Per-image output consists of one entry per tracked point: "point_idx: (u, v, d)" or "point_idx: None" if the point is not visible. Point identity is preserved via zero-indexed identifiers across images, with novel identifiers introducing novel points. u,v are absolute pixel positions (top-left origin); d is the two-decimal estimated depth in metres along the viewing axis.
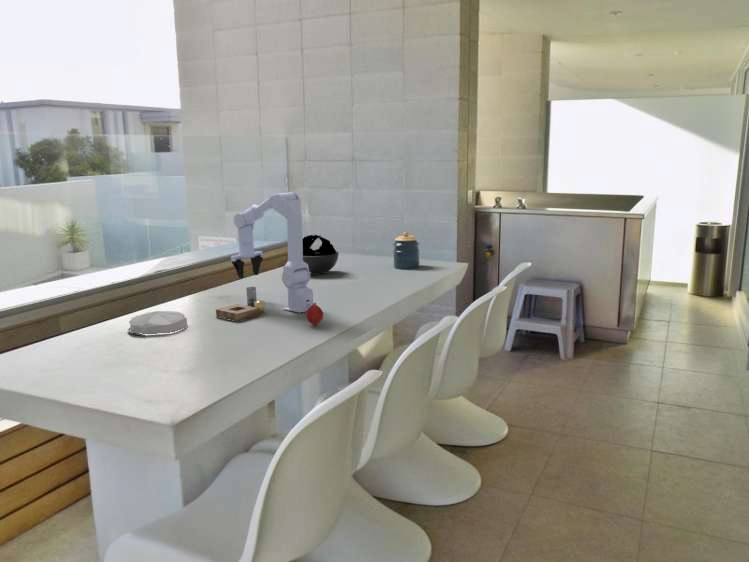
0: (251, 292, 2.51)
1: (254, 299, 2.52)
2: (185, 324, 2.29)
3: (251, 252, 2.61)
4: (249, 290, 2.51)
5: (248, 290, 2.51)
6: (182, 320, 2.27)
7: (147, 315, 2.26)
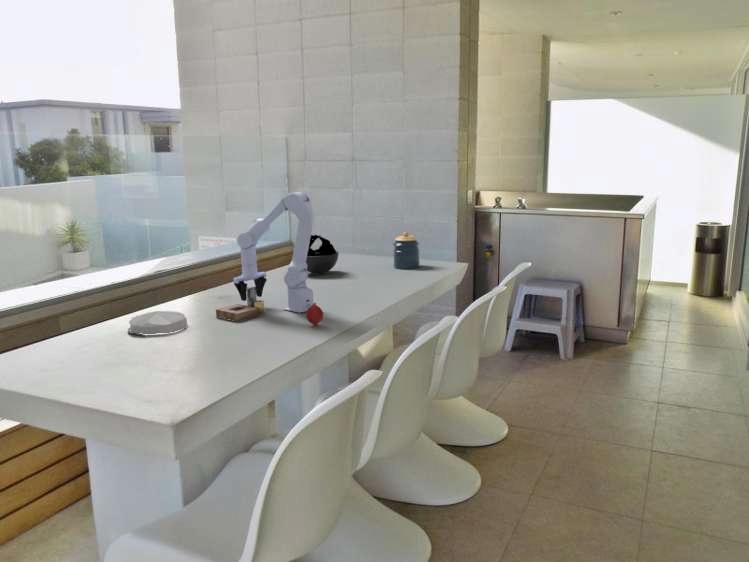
0: (251, 292, 2.51)
1: (254, 299, 2.52)
2: (185, 324, 2.29)
3: (254, 273, 2.50)
4: (249, 290, 2.51)
5: (248, 290, 2.51)
6: (182, 320, 2.27)
7: (147, 315, 2.26)
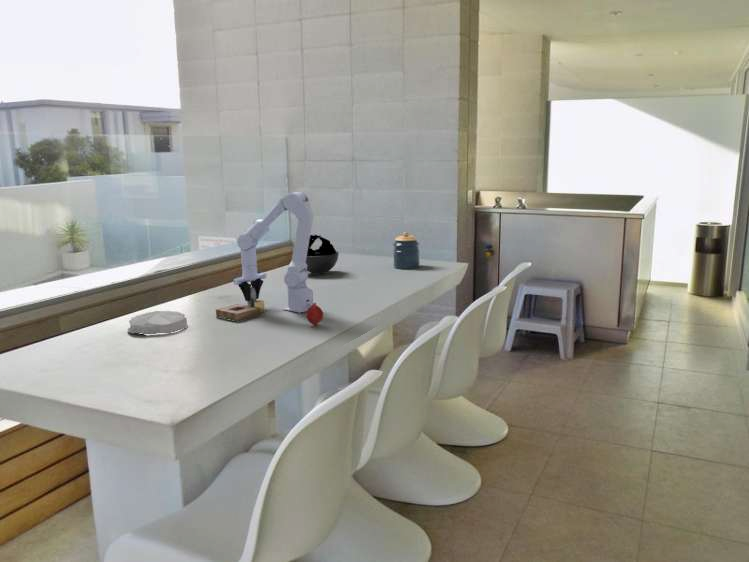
0: (251, 292, 2.51)
1: (254, 299, 2.52)
2: (185, 324, 2.29)
3: (255, 275, 2.50)
4: None
5: None
6: (182, 320, 2.27)
7: (147, 315, 2.26)
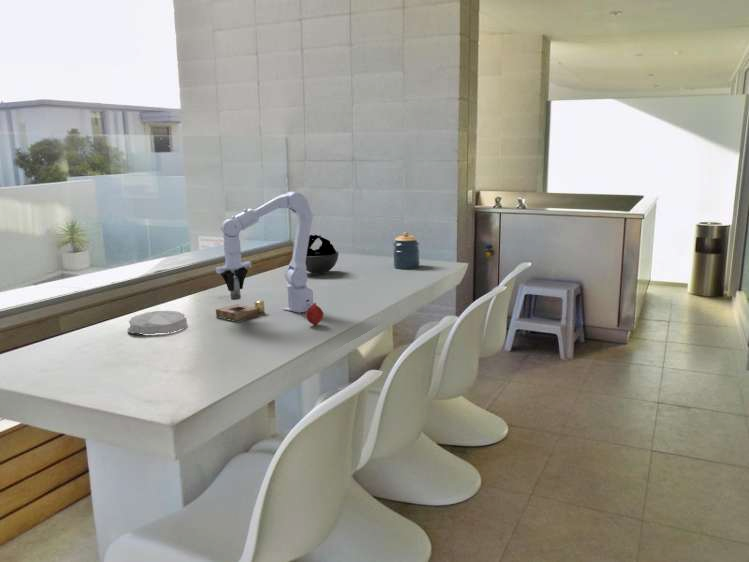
0: (233, 282, 2.37)
1: (237, 289, 2.38)
2: (185, 324, 2.29)
3: (238, 263, 2.36)
4: None
5: None
6: (182, 320, 2.27)
7: (147, 315, 2.26)
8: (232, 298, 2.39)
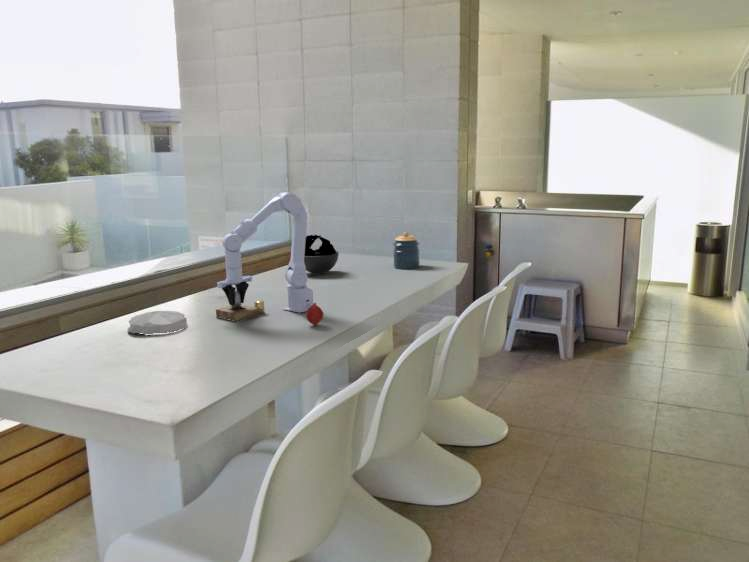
0: (235, 296, 2.38)
1: (238, 304, 2.39)
2: (185, 324, 2.29)
3: (239, 278, 2.37)
4: None
5: None
6: (182, 320, 2.27)
7: (147, 315, 2.26)
8: None
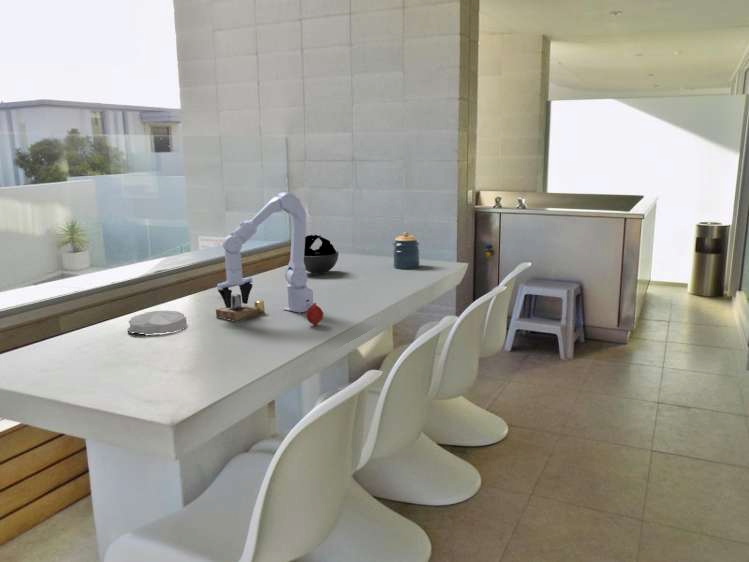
0: (235, 300, 2.39)
1: (238, 307, 2.40)
2: (185, 323, 2.29)
3: (239, 279, 2.37)
4: (233, 298, 2.39)
5: (232, 298, 2.39)
6: (182, 319, 2.27)
7: (147, 315, 2.26)
8: None
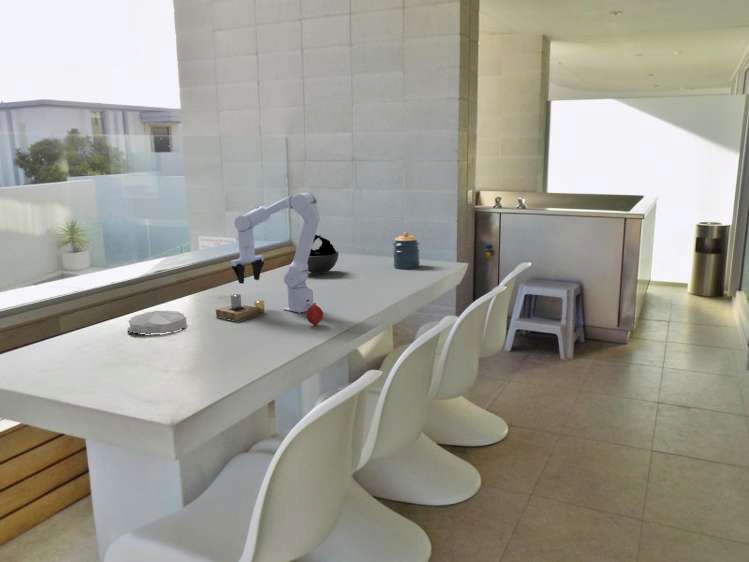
0: (235, 300, 2.39)
1: (238, 307, 2.40)
2: (185, 323, 2.29)
3: (252, 256, 2.49)
4: (233, 298, 2.39)
5: (232, 298, 2.39)
6: (182, 319, 2.28)
7: (147, 315, 2.26)
8: None
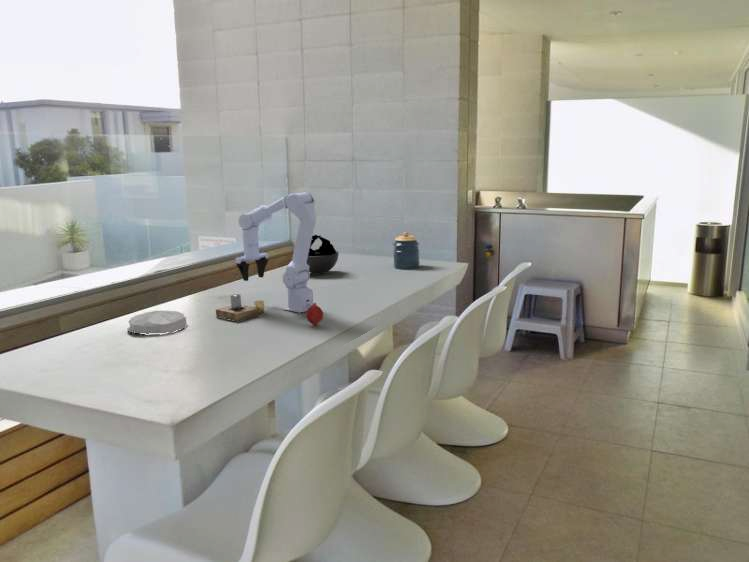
0: (235, 300, 2.39)
1: (238, 307, 2.40)
2: (185, 323, 2.30)
3: (256, 254, 2.53)
4: (233, 298, 2.39)
5: (232, 298, 2.39)
6: (182, 319, 2.28)
7: (147, 315, 2.27)
8: None
